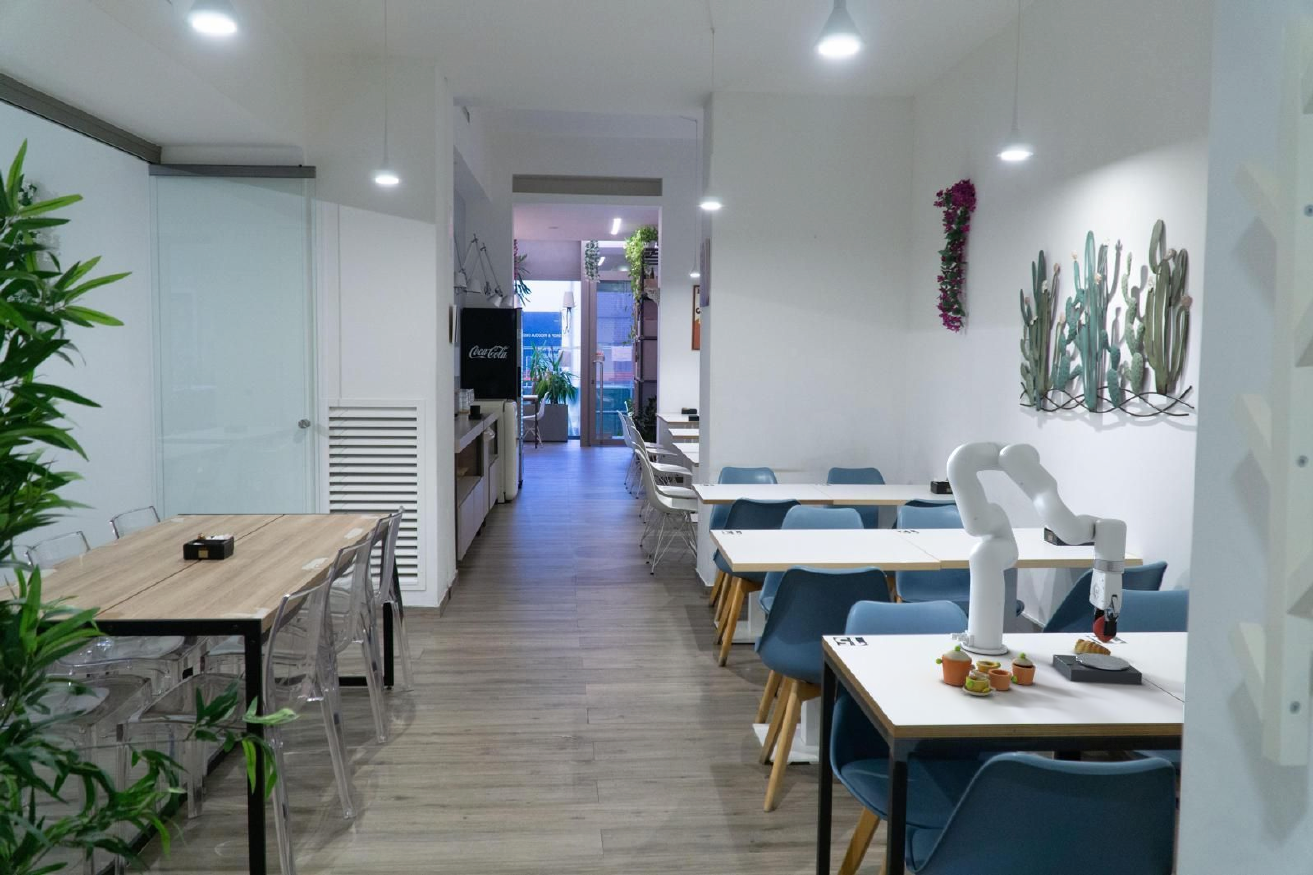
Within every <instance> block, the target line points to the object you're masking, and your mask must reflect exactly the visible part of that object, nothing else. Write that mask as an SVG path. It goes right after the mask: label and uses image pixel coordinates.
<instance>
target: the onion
mask: <svg viewBox="0 0 1313 875" xmlns="http://www.w3.org/2000/svg"><path fill="white" fill-rule="evenodd" d="M1104 621H1106V620H1105V614H1104V616H1102V617H1100V618H1099V619H1097V620H1096V621H1095V623H1094V622H1093V624H1094V625H1092V631H1093V634H1094V635H1095V637H1096V638H1097V639H1098V640H1099V641H1100V642H1101V643H1102V644H1107V643H1108V642H1110V641H1111V640H1113V639H1114V638H1115V637H1116V636H1104V635H1103V626H1104ZM1116 634H1118V629H1117V630H1116Z"/></svg>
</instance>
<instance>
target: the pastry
mask: <svg viewBox="0 0 1313 875" xmlns="http://www.w3.org/2000/svg"><path fill="white" fill-rule="evenodd" d="M1073 651H1074V652H1075V653H1076V654H1078V655H1079V654H1086V653H1093V654H1103V655H1109V656H1111V655H1112V651H1111V650H1110V649H1108V648H1107V647H1105V646H1103V645H1102V644H1099V643H1097V642H1095V641H1091V640H1088V639H1087V640H1085V639H1083V638H1078V639H1077V641H1076V642H1075V644H1074V647H1073Z"/></svg>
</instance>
